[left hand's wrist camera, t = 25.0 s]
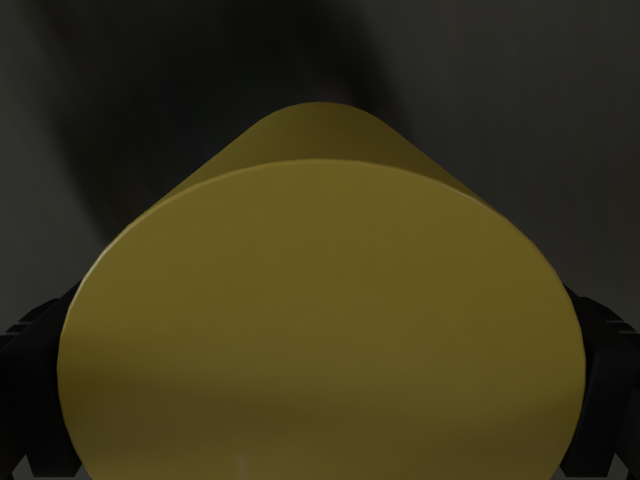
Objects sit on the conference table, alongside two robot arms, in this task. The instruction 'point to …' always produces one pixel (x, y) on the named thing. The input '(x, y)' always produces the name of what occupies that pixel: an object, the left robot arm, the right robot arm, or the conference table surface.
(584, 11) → the conference table surface
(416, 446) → the canister
